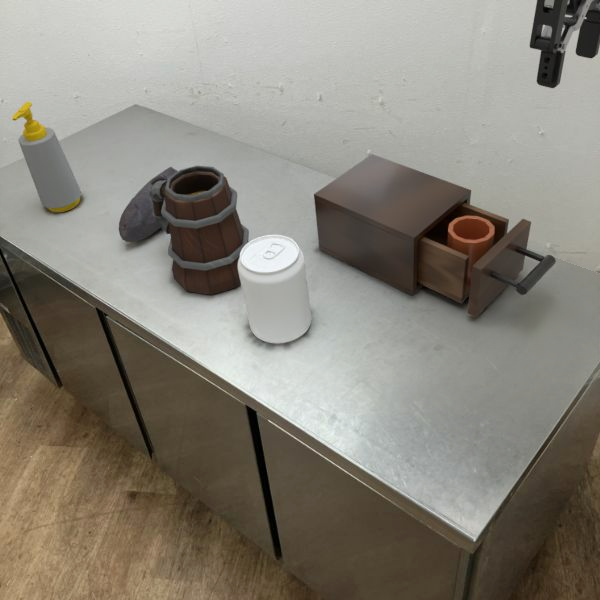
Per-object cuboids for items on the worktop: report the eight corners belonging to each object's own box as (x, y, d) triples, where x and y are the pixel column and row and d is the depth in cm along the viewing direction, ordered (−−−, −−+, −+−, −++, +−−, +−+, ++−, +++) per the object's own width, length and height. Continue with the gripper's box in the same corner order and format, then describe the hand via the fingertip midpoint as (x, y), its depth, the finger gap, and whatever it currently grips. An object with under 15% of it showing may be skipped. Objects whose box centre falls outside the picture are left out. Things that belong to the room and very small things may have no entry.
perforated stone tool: (137, 255, 99) (125, 218, 94) (113, 246, 101) (99, 209, 97) (199, 204, 108) (190, 167, 103) (175, 196, 110) (165, 161, 105)
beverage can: (238, 334, 84) (222, 263, 76) (272, 296, 89) (260, 225, 81) (290, 354, 81) (279, 282, 73) (323, 314, 85) (315, 242, 77)
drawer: (557, 284, 84) (568, 235, 79) (511, 335, 78) (519, 286, 73) (425, 228, 95) (427, 182, 90) (376, 269, 90) (375, 223, 84)
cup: (497, 268, 86) (503, 225, 81) (473, 291, 83) (478, 248, 78) (460, 252, 89) (464, 210, 84) (437, 274, 86) (439, 231, 81)
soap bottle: (37, 215, 110) (-8, 118, 98) (54, 191, 115) (14, 96, 103) (74, 215, 109) (34, 117, 97) (90, 192, 114) (54, 95, 102)
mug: (270, 256, 95) (255, 168, 85) (218, 306, 89) (195, 216, 78) (192, 227, 103) (170, 143, 93) (138, 271, 96) (108, 185, 86)
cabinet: (465, 248, 93) (471, 190, 86) (412, 296, 86) (414, 237, 80) (373, 208, 102) (371, 153, 95) (319, 249, 96) (313, 194, 89)
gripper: (606, -83, 52) (569, 105, 63) (675, -122, 59) (631, 53, 70) (520, -90, 56) (500, 87, 67) (595, -126, 63) (565, 40, 74)
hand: (567, 70), depth 69 cm, fingers open, 8 cm apart
